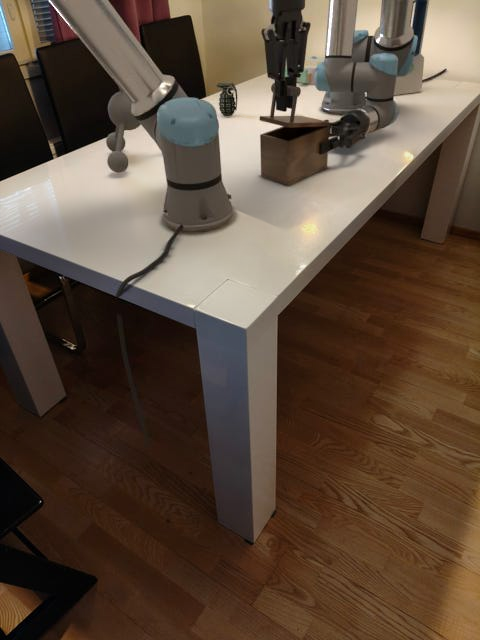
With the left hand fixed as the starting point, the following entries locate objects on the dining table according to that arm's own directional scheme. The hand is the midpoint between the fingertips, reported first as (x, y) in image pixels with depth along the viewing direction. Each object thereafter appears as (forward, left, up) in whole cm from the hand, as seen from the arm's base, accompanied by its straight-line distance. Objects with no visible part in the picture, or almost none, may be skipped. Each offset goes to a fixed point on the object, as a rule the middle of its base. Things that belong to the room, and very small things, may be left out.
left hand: (285, 108), depth 114 cm
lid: (+3, -1, -4) cm, 5 cm away
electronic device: (+92, -7, -16) cm, 93 cm away
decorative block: (+104, +35, -16) cm, 111 cm away
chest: (+3, -1, -16) cm, 17 cm away
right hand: (+7, -2, -10) cm, 13 cm away
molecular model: (-2, +43, -16) cm, 46 cm away
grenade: (+43, +41, -16) cm, 61 cm away
